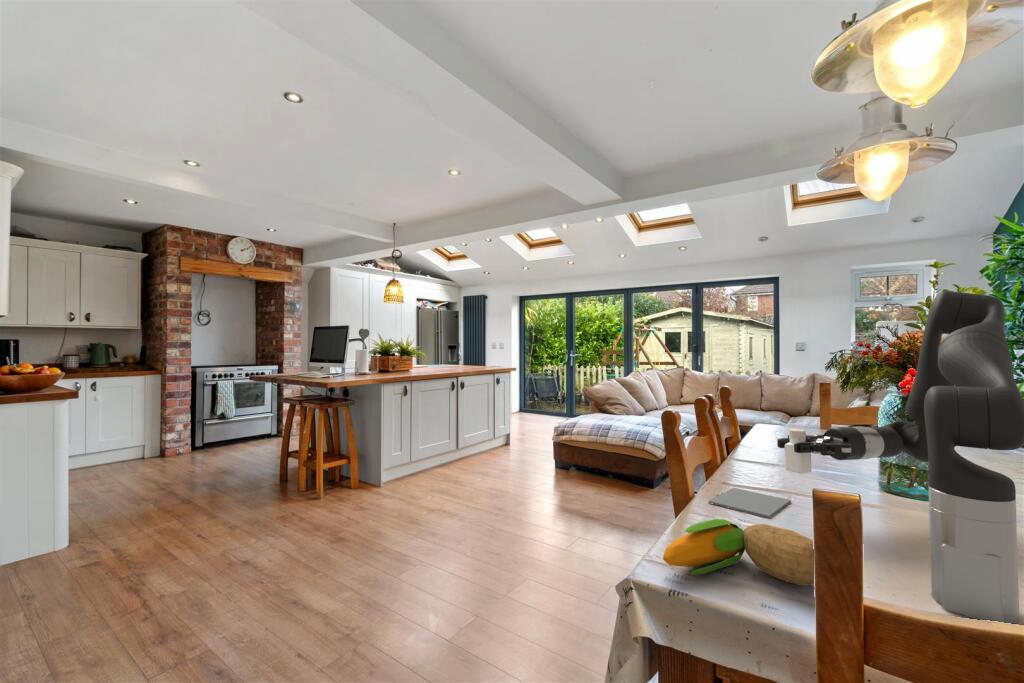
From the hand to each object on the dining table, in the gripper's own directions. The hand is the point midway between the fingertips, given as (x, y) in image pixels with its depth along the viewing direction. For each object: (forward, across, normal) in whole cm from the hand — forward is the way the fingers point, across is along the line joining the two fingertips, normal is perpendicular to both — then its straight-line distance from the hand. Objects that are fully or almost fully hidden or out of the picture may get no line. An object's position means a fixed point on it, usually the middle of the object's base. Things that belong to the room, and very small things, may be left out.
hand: (787, 445), depth 101 cm
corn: (+31, +17, +18) cm, 39 cm away
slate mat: (+1, -12, +17) cm, 21 cm away
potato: (+20, +23, +18) cm, 35 cm away
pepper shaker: (-3, 0, +6) cm, 7 cm away
